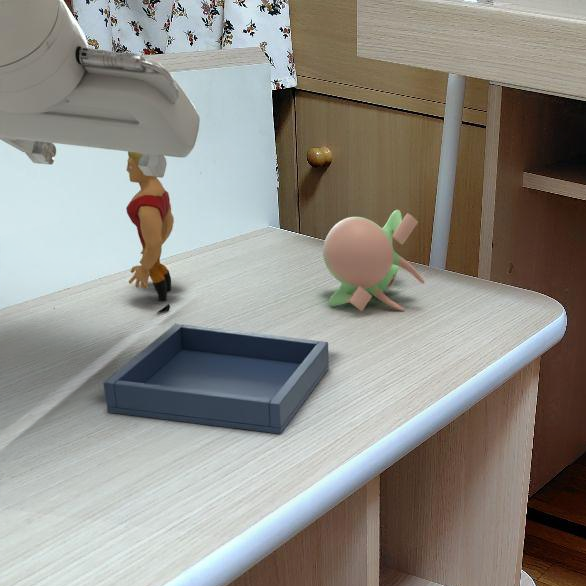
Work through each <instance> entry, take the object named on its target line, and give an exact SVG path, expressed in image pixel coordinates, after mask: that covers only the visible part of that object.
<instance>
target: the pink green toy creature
mask: <svg viewBox="0 0 586 586" xmlns="http://www.w3.org/2000/svg"><path fill="white" fill-rule="evenodd" d="M418 223H419V221H418V220H417V219H416V218H415V217H414V216H413V215H412V214H410V213H406V215H404V217H403V216H402V212H401V210H400V209H395V210H394V211H393V212H392V213H391V214H390V216H389V218H388V219H387V221H386V223H385V225H384V226H383V227H381V226H380V225H379V224H377V223H376V222H375V221H373V220H370V219H368V218H365V217H361V216H350V217H346V218H343V219H341V220H340V221H338V222H337V223H335V225H334V226H332V227H331V229H330V230H329V232H328V234H327V235H326V237H325V239H324V242H323V245H322V246H323V247H322V257H323V262H324V264H325V266H326V268H327V270H328V272H329V273H330V274H331V275H332V276H333V278H335V279H336V280H337V281H338V282H339V283H341V284H340V286H339V288H338V289H336V291H335V292H334V293H333V294H332V295H331V296H330V298H329V299H328V305H329V306H330V307H336V306H337V307H338V306H341V305H345V304H349V303H350V304H351V305H352V306H354V307H355V308H356V309H358V310H359V311H360V312H363V311H364V309H365V307H366V306H367V305H368V303H369V302H370V300H371V299H372V297H375V298H377V299H378V300H379V301H380V302H382V303H384V304H386V305H387V306H390V307H391V308H394V309H396V310H399V311H402V312H405V307H404V306H401V305H400V304H399V303H396V302H395V301H394V300H392V299H390V298H389V297H388V296H387V295H386V294H385V293H384V291H385V290H386V289H388V288H389V287H390V286H392V284H393V282H395V277H396V276H397V274H398V271H399V268H402V269H404V270H405V271H407V272H408V273H410V275H412V276H413V277H414V278H415V279H416V280H418V281H419V282H420V283H421V284H422V285H425V283H426V282H425V280H424V278H423V277H422V276H421V274H420V273H419V272H418V270H417V269H416V268H415V267H414V266H413V264H412V263H410V262H409V261H407V260H406V259H405V258H404V257H402V256H400V255H399V254H398V253H397V252H396V251H395V249H394V244H393V243H394V242H393V241H394V240H395V241H396V242H397V243H398V244H400V245H402V246H403V245H404V244H405V243H406V241H407V239H408V238H409V236H410V235H411V233H412V232H413V231H414V229H415V227H416V226H417V225H418Z"/></svg>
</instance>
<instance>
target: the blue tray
mask: <svg viewBox="0 0 586 586" xmlns="http://www.w3.org/2000/svg"><path fill="white" fill-rule="evenodd" d="M329 362H330V361H329V342H328V341H322V340H313V339H306V338H298V337H288V336H281V335H274V334H264V333H259V332H258V333H256V332H250V331H249V332H248V331H242V330H241V331H240V330H233V329H232V330H231V329H223V328H216V327H209V326H200V325H192V324H182V323H175V324H173V325H172V326H171V327H169V328H168V329H167V330H165V332H163V333H162V334H160V335H159V336H158V337H156V339H155V340H154V341H152V342H151V343H150V344H148V345H147V346H146V347H144V349H142V350H141V351H140V352H139V353H138V354H137V355H135V356H134V357H133V358H132V359H131V360H129V361H127V362H126V363H125V364H124V365H123V366H122V367H120V368H119V369H118V370H117V371H116V372H114V373H113V374H112V375H111V376H110V377H108V378H107V379H106V380H105V381H103V389H104V395H105V402H106V410H107V413H109V414H110V413H111V414H116V415H117V414H119V415H126V416H127V415H128V416H134V417H141V418H142V417H143V418H151V419H158V420H165V421H172V422H173V421H174V422H183V423H191V424H197V425H198V424H199V425H205V426H206V425H207V426H214V427H215V426H216V427H221V428H230V429H239V430H247V431H254V432H255V431H256V432H262V433H270V434H279V435H281V434H282V433H283V432H284V430H285V429H286V427H287V426H288V425H289V423H290V422H291V420H292V419H293V418H294V417H295V415H296V414H297V413H298V412H299V410H300V408H302V406H303V404H304V403H305V402H306V400H307V399H308V398H309V396H310V395H311V393H312V392H313V391H314V389H315V388H316V387H317V386H318V384H319V382H320V381H321V380H322V379H323V378H324V376H325V374H326V373H327V372H328V370H329V369H330V365H329Z"/></svg>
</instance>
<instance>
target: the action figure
mask: <svg viewBox="0 0 586 586" xmlns="http://www.w3.org/2000/svg"><path fill="white" fill-rule="evenodd" d="M127 155H128V158H127V165H126V170H125V171H126V172H128V177H129V181H130V183H138V185H139V187H140V190H139V191H138V192H137V193H135V195H134V196H133V197H132V198H131V200H130V201H129V203H128V205H126V208H125V209H126V214H127V216H128V218H129V219H130V222H131V223H132V224H133V225H134V226H135V227H136V230H137V235H138V238H139V241H140V244H141V247H142V250H141V251H140V254H141V255H142V256H141V258H140V260H139V264H141V265H134V266H131V269H130V272H131V273H134V274H133V275H132V276H131V278H130V279H129V280H128V284H130V285H131V284H133V282H134V281H136V282H135V288H136V289H138V288H139V286H140V287H141V288H142V289H145V288H147V289H150V285H149V284H148V282H149V279H151V281H152V285H153V287H154V290H155V291H156V294H157V297H158V302H166V301H168V299H167V298H168V292H171V291H172V277H171V274H170V270H169V269H168V268H167V266H166V265H164V264H163V263H161V256H162V247H163V245H164V243H165V242H166V241H167V239H168V238H169V237H170V236H171V233H172V232H173V228H174V223H175V220H174V215H173V213H172V205H171V202H170V200H171V199H170V194H169V192H168V191H167V190H166V189H165V187H164V186H163V183H162V182H161V181H160V179H158V177H152V176H145V175H144V174H143V171H142V170H140V168H139V167H138V162H139V158H140V157H141V156H142V155H141V153H136V152H128V151H127ZM170 309H171V305H170V303H167V304H166V305H165V306H164V307H162V308H161V309H160V310H158V311H157V312H156V313H163V312H169V311H170Z"/></svg>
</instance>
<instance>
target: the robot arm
mask: <svg viewBox="0 0 586 586" xmlns="http://www.w3.org/2000/svg"><path fill="white" fill-rule="evenodd" d="M200 121H201V120H200V115H199V112H198V111H197V108H196V107H195V105H194V104H193V102H192V101H191V99H190V98H189V96H188V95H187V93H186V92H185V90H184V89H183V88H182V86H181V85H180V84H179V82H178V81H177V79H175V77H174V76H173V75H172V73H170V71H169V70H168V69H167V68H166V67H164V66H163V65H162V64H161V63H159V62H158V61H157V60H154V59H153V58H149V57H147V56H143V55H141V54H138V53H134V52H116V51H115V52H114V51H109V50H105V49H99V48H98V49H97V48H91V47H89V46H88V41H87V38H86V35H85V33H84V31H83V30H82V28H81V27H80V25H79V23H78V22H77V20H76V18H75V17H74V16H73V14H72V12H71V11H70V9H69V7H68V6H67V4H66V2H65V1H64V0H0V140H1V141H3V143H6V144H8V145H10V146H11V147H13V148H14V149H17V150H19V151H20V152H22V153H25V155H26V156H27V157H28V158H29V159H30V161H31V162H32V163H33V164H41V165H51V166H52V165H53V164H54V162H55V159H54V158H55V157H56V155H57V148H56V145H55V144H58V145H68V146H75V147H84V148H93V149H100V150H101V149H103V150H110V151H120V152H127V153H128V152H136V153H141V155H142V156H141V157H140V158H139V162H138V167H139V168H140V170H142V171H143V174H144V175H145V176H152V177H157V178H161V179H162V178H164V176H165V173H166V169H167V165H168V164H167V158H166V157H172V158H181V159H182V158H187V157H188V156H189V155H190V154H191V152H192V151H193V150H194V148H195V145H196V142H197V138H198V134H199V131H200V130H199V129H200Z"/></svg>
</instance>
